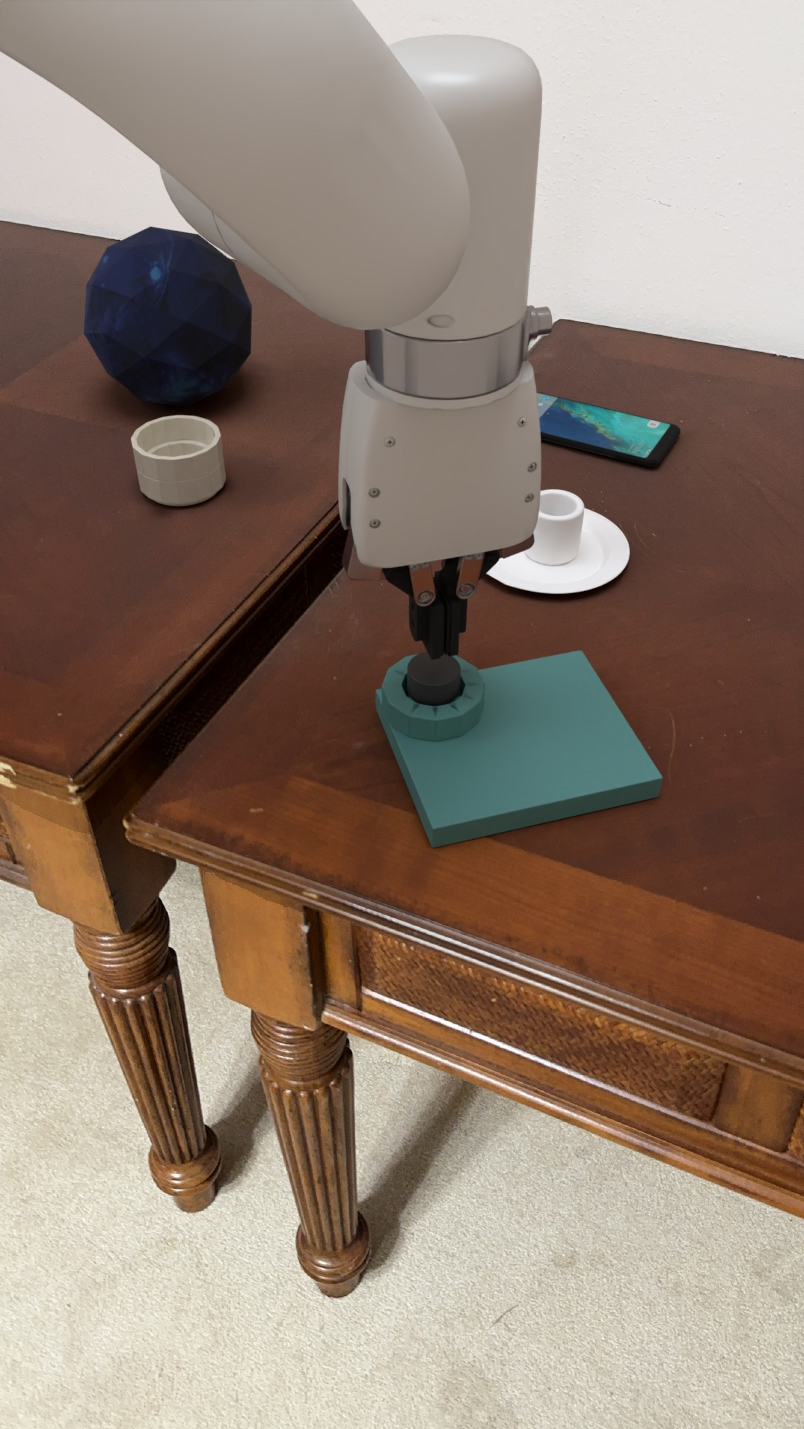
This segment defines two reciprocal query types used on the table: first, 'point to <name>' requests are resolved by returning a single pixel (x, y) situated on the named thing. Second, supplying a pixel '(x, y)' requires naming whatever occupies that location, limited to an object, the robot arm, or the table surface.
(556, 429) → the smartphone
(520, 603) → the table surface
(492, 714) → the teal dial base
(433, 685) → the button
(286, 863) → the table surface
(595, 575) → the candle holder
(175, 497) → the bowl
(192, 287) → the decorative orb
